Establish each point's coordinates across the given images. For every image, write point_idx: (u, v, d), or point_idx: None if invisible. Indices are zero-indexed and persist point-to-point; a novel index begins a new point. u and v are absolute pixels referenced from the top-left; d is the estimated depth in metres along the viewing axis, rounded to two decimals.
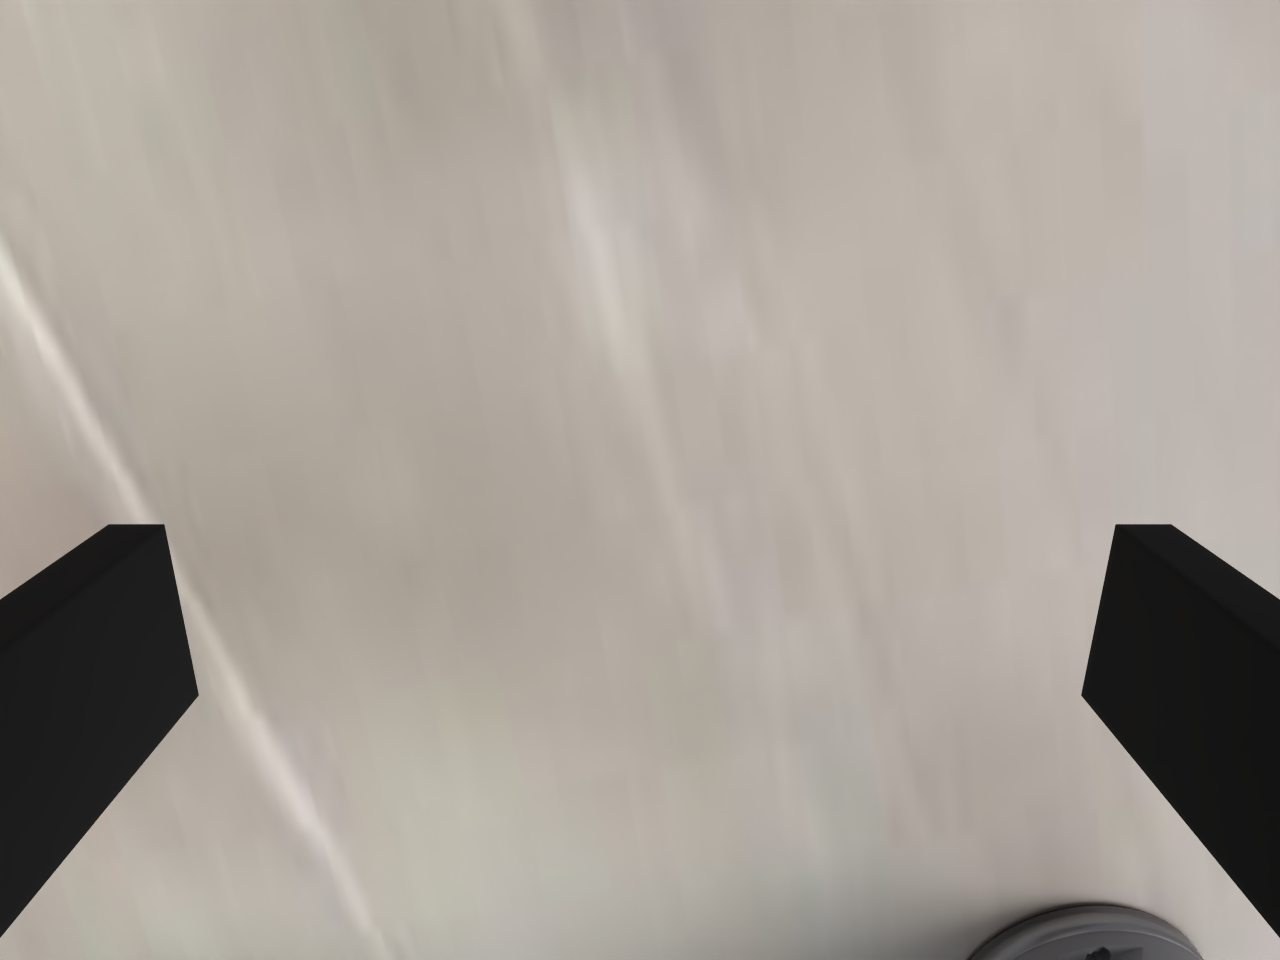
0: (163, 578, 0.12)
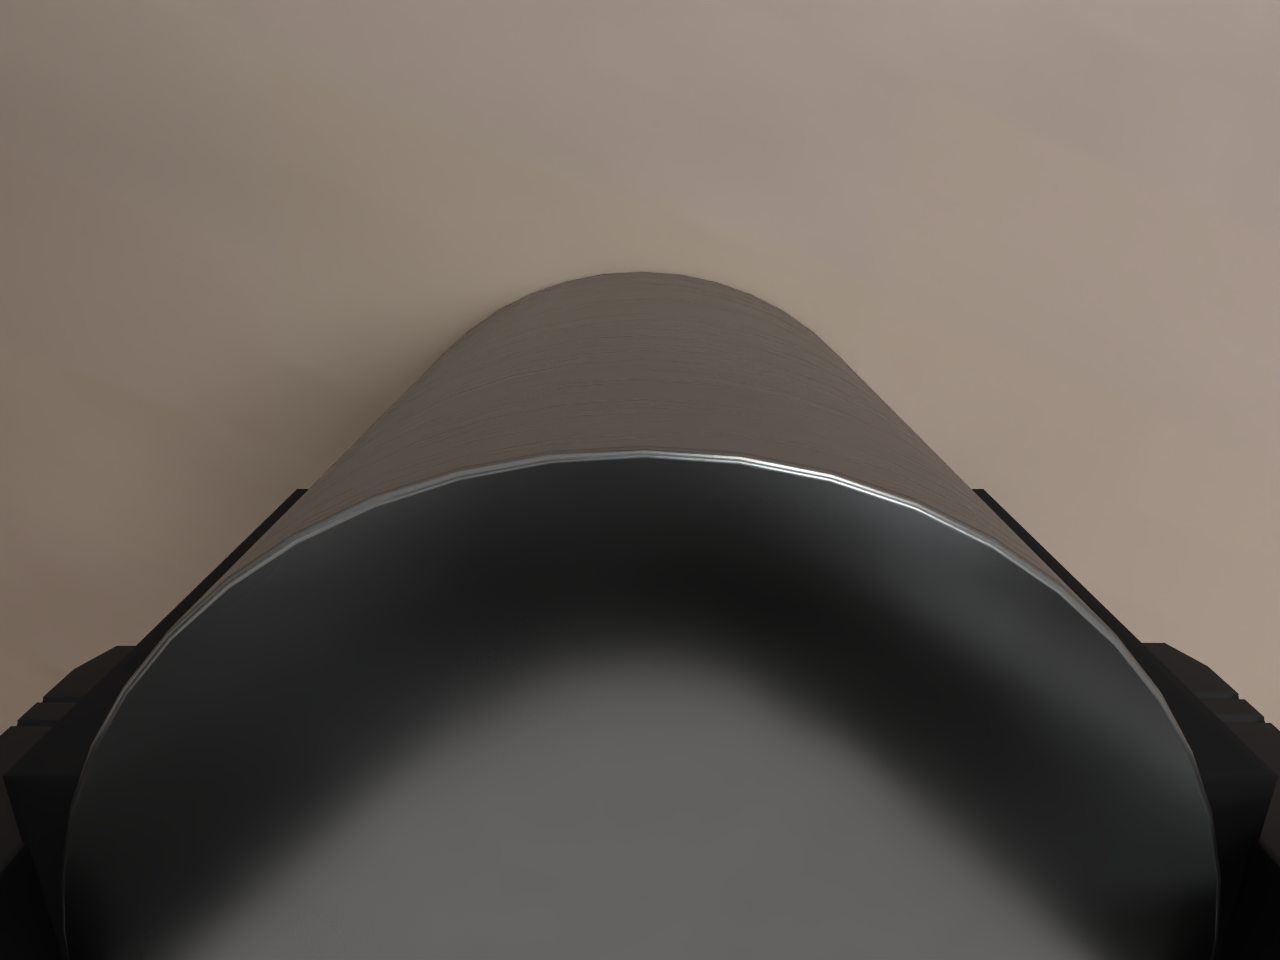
0: None
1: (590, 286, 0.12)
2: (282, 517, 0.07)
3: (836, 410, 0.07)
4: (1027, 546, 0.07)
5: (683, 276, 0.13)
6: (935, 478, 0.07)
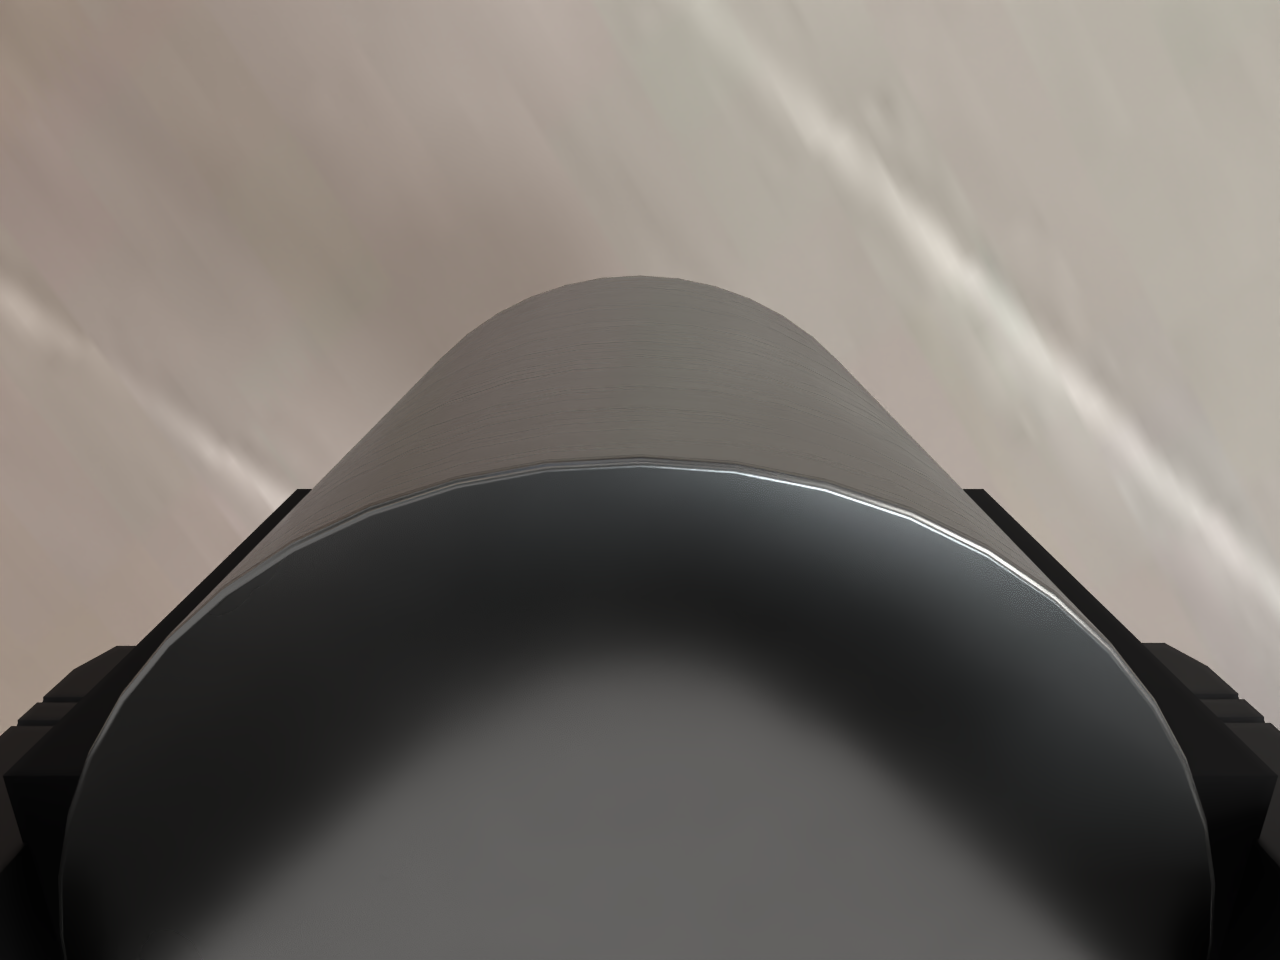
0: None
1: (588, 290, 0.12)
2: (280, 523, 0.07)
3: (832, 417, 0.07)
4: (1023, 553, 0.07)
5: (681, 280, 0.13)
6: (931, 486, 0.07)
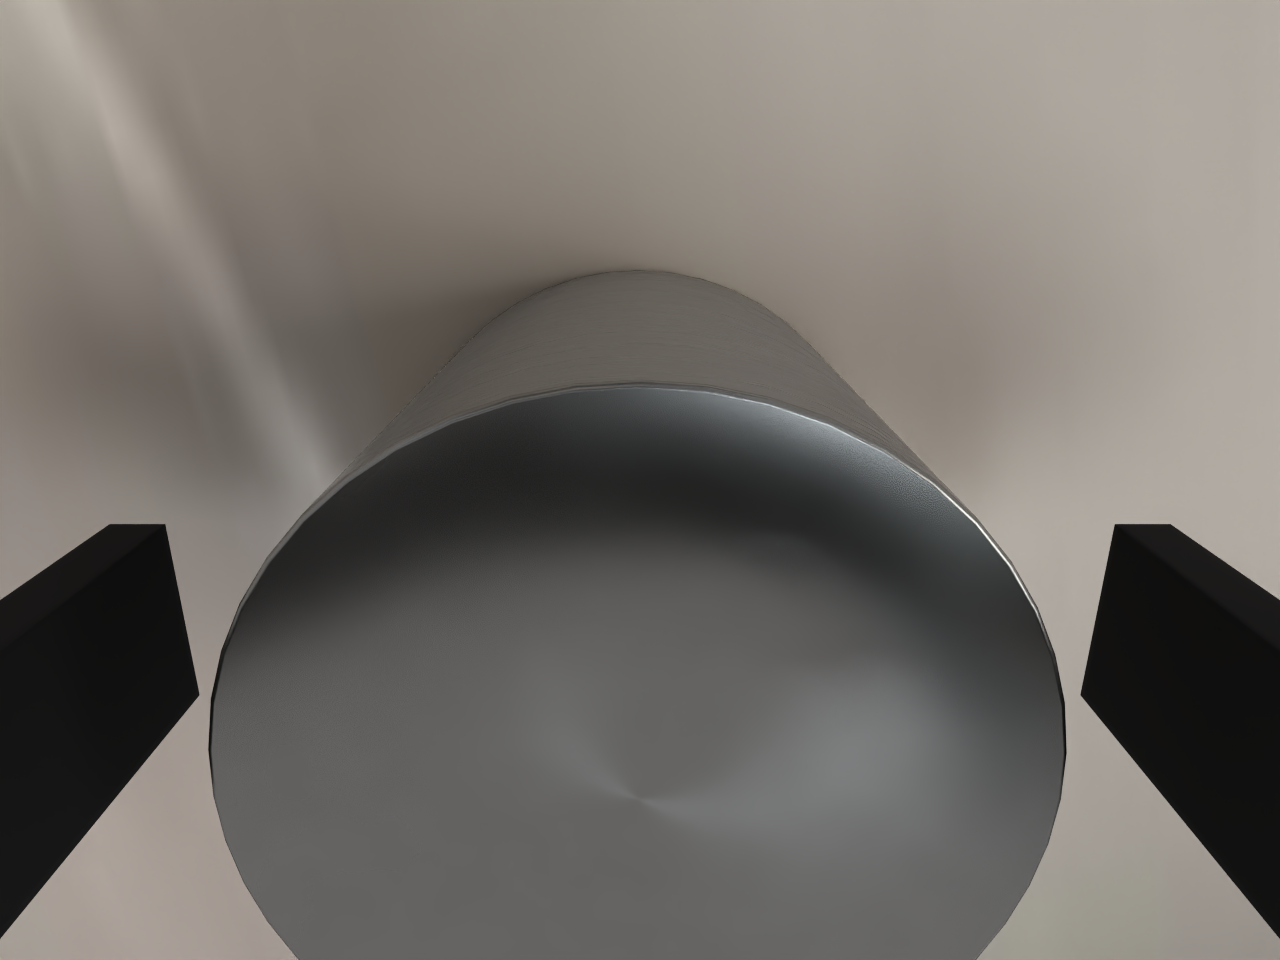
0: (164, 578, 0.12)
1: (596, 281, 0.15)
2: (367, 448, 0.10)
3: (786, 368, 0.10)
4: (926, 466, 0.09)
5: (674, 274, 0.16)
6: (855, 413, 0.09)
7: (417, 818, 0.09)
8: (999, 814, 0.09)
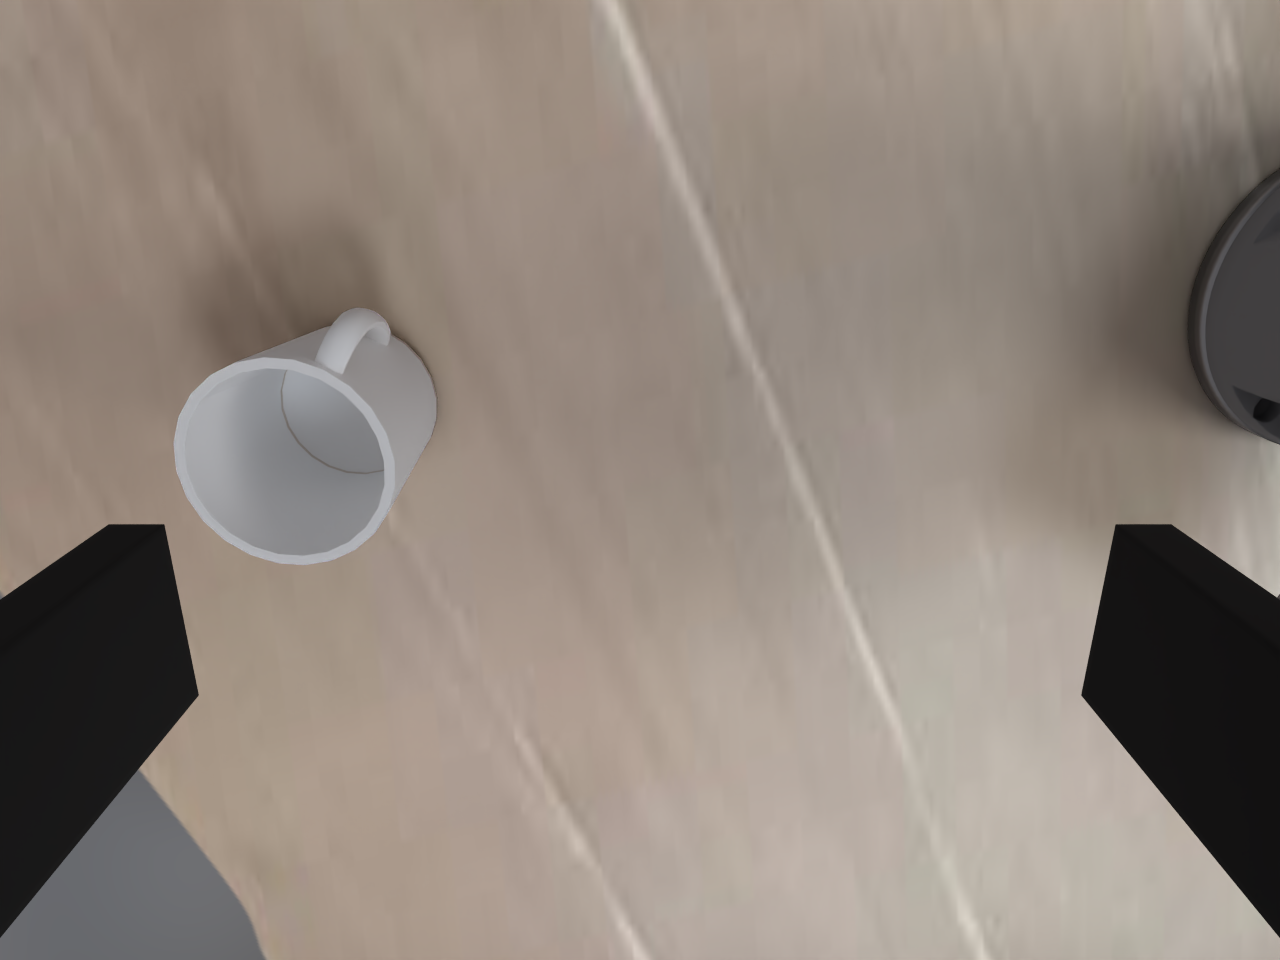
0: (163, 579, 0.12)
1: None
2: None
3: None
4: None
5: None
6: None
7: None
8: None
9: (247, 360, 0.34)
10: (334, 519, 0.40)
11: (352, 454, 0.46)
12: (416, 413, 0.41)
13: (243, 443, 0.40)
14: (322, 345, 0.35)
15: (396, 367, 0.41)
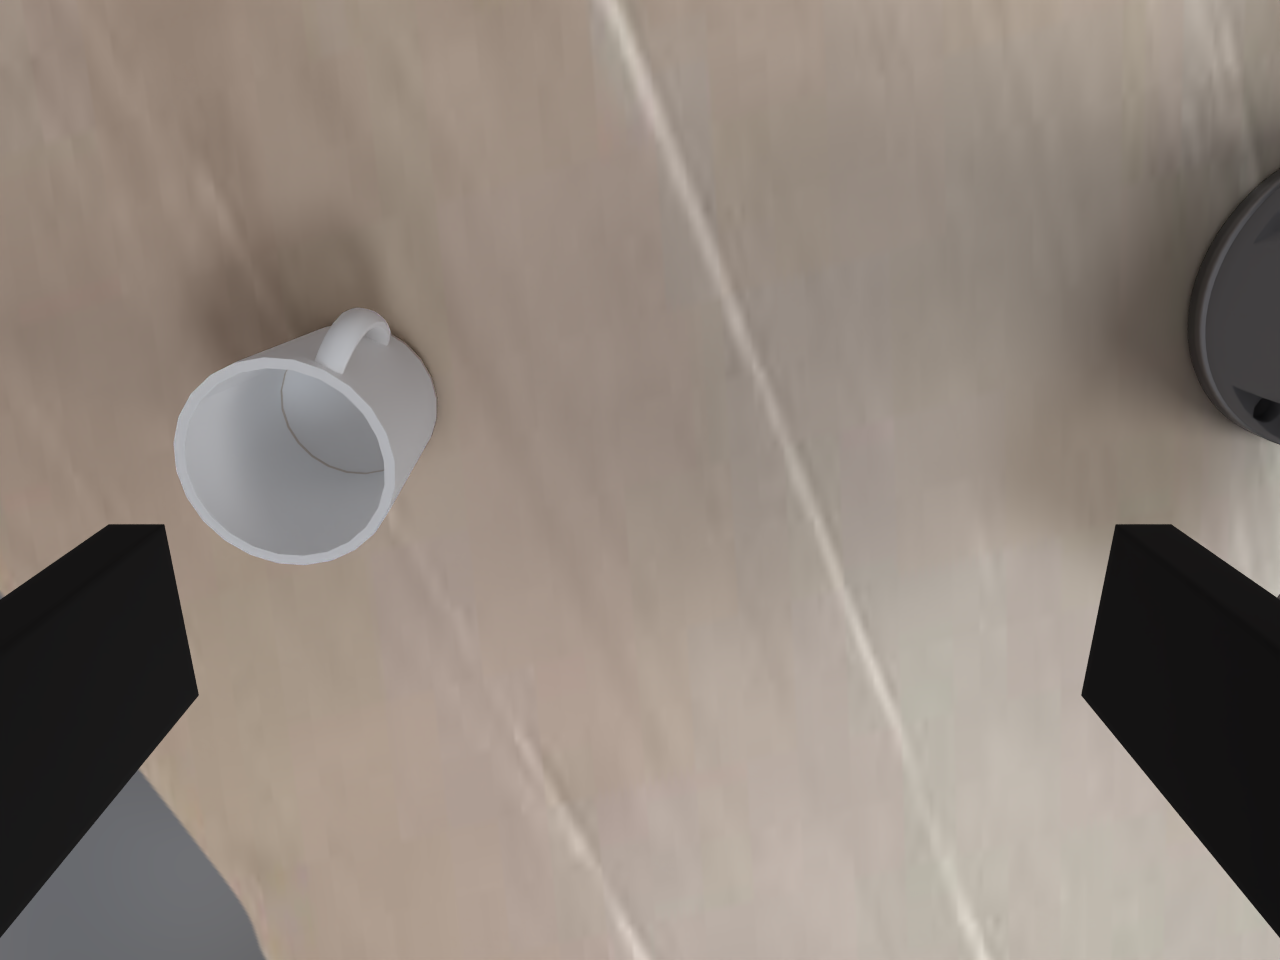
0: (163, 579, 0.12)
1: None
2: None
3: None
4: None
5: None
6: None
7: None
8: None
9: (247, 360, 0.34)
10: (334, 519, 0.40)
11: (352, 454, 0.46)
12: (416, 413, 0.41)
13: (243, 443, 0.40)
14: (322, 345, 0.35)
15: (396, 367, 0.41)
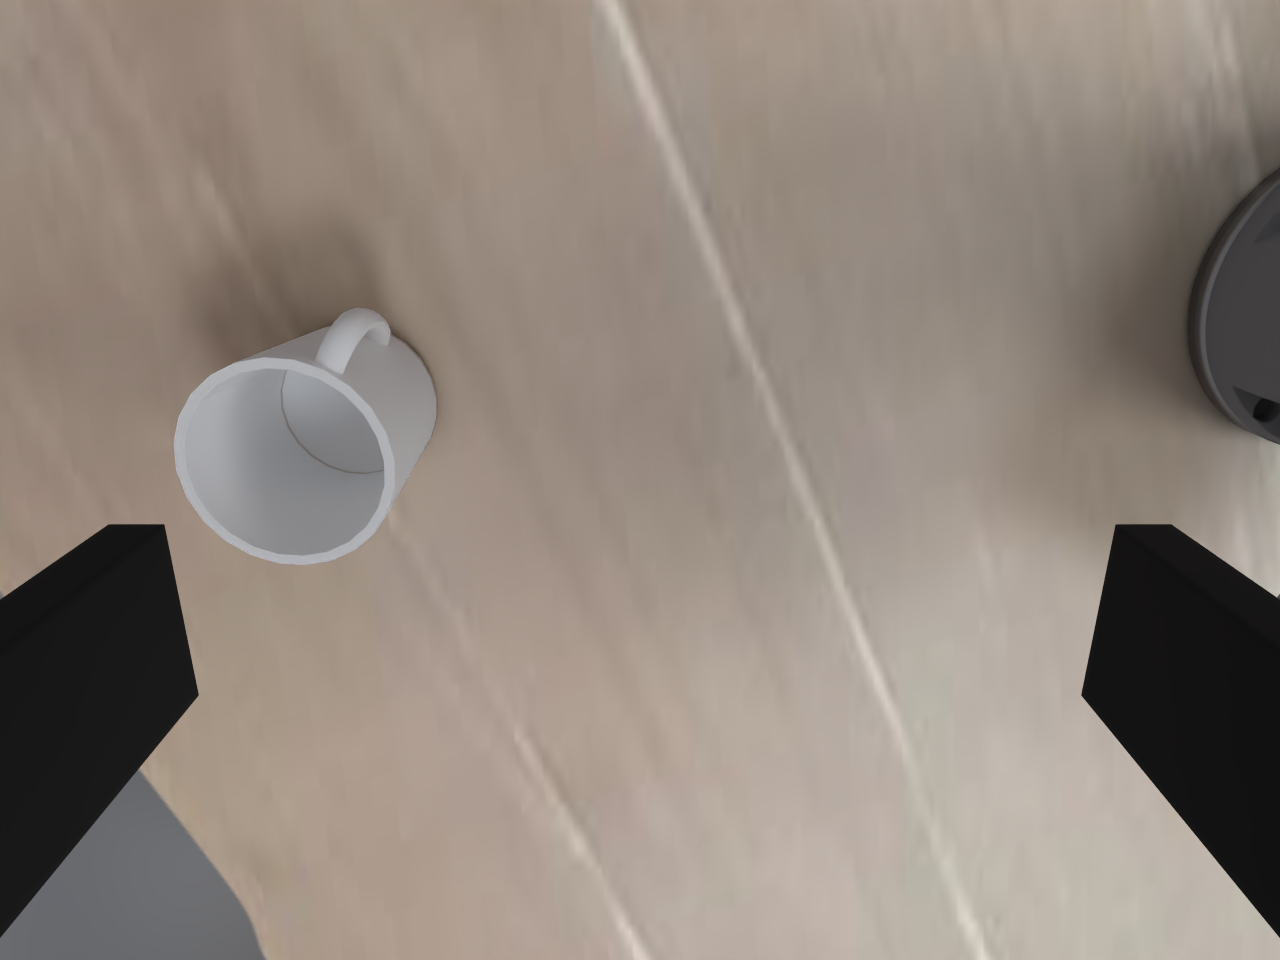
0: (163, 579, 0.12)
1: None
2: None
3: None
4: None
5: None
6: None
7: None
8: None
9: (247, 360, 0.34)
10: (334, 519, 0.40)
11: (352, 454, 0.46)
12: (416, 413, 0.41)
13: (243, 443, 0.40)
14: (322, 345, 0.35)
15: (396, 367, 0.41)
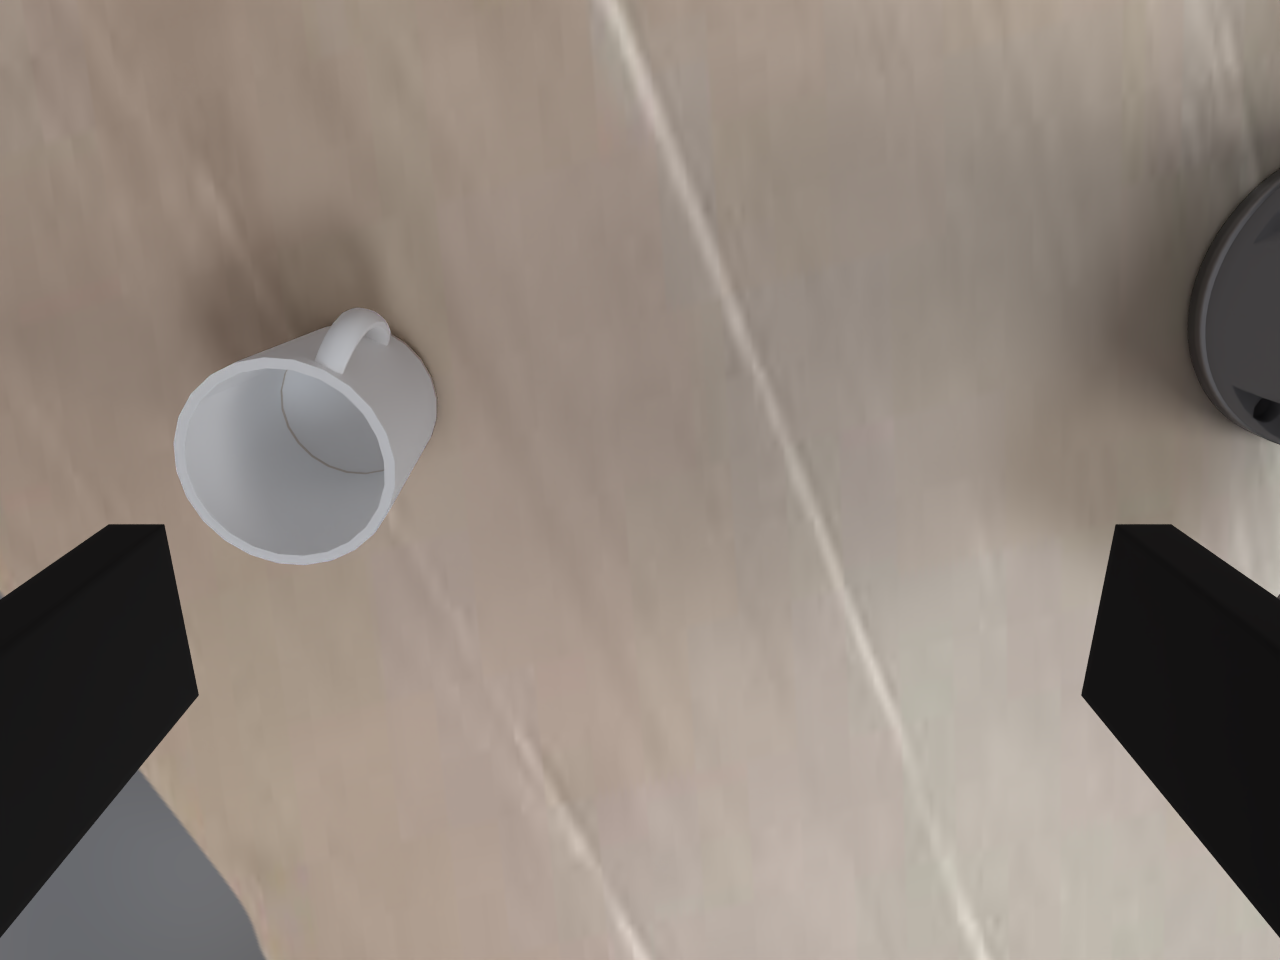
0: (163, 579, 0.12)
1: None
2: None
3: None
4: None
5: None
6: None
7: None
8: None
9: (247, 360, 0.34)
10: (334, 519, 0.40)
11: (352, 454, 0.46)
12: (416, 413, 0.41)
13: (243, 443, 0.40)
14: (322, 345, 0.35)
15: (396, 367, 0.41)
